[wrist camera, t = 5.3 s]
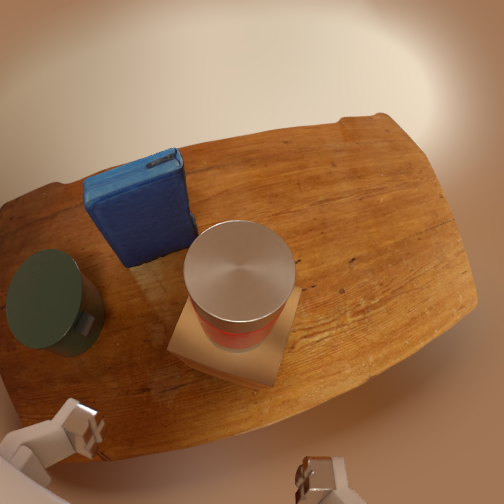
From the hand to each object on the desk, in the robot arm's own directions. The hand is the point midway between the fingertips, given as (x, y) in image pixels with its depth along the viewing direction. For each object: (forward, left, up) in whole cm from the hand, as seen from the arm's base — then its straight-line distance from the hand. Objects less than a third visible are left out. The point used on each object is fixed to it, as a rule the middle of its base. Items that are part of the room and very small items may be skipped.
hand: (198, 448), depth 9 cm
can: (+9, +1, -14) cm, 17 cm away
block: (+9, +1, -32) cm, 33 cm away
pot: (+3, +30, -32) cm, 44 cm away
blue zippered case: (+21, +19, -32) cm, 43 cm away
